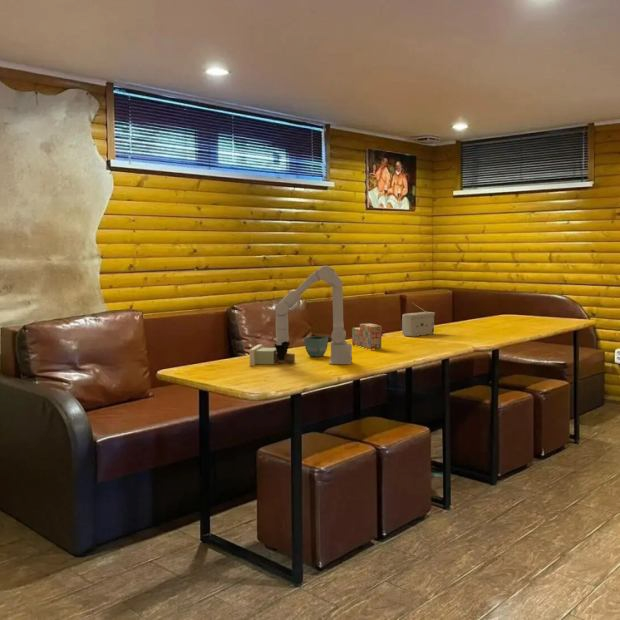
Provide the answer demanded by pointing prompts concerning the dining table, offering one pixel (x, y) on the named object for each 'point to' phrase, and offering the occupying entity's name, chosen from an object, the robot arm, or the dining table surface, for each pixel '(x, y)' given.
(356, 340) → the stack of blocks
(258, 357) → the block
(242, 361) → the dining table surface
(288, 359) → the brown collared bar
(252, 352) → the wall
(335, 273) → the robot arm
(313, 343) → the flower pot
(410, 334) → the stereo radio cassette player
